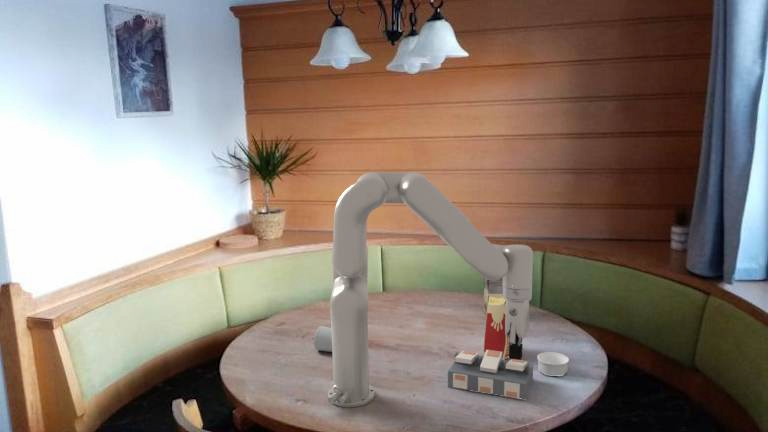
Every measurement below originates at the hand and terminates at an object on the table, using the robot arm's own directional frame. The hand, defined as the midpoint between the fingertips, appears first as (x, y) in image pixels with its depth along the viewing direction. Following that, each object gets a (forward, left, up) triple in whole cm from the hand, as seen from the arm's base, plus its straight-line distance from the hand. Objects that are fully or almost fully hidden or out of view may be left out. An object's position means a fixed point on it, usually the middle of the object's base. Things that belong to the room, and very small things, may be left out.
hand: (515, 358), depth 154 cm
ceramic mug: (+8, +60, -10) cm, 62 cm away
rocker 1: (+3, +14, -3) cm, 15 cm away
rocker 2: (+3, 0, -3) cm, 4 cm away
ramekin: (+17, -8, -10) cm, 21 cm away
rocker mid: (+3, +7, -3) cm, 8 cm away
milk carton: (+25, +9, -10) cm, 28 cm away
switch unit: (+3, +7, -10) cm, 12 cm away
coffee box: (+57, +18, -10) cm, 60 cm away
